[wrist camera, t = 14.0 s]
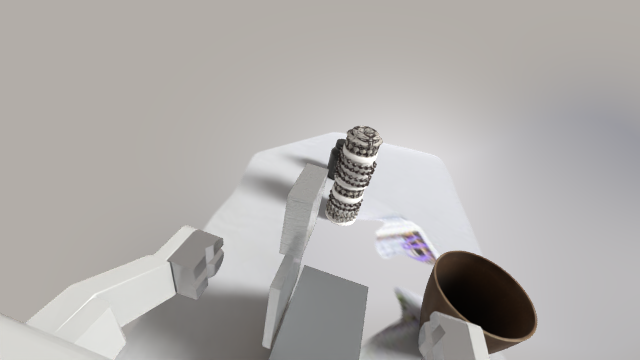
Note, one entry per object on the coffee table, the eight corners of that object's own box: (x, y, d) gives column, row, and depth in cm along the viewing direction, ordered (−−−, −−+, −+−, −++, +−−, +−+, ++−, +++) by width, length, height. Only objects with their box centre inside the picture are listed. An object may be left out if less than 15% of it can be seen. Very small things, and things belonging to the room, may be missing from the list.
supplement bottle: (350, 176, 90) (360, 144, 83) (337, 183, 85) (347, 150, 78) (334, 166, 93) (342, 135, 86) (321, 173, 88) (329, 140, 81)
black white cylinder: (320, 202, 76) (340, 119, 62) (351, 203, 78) (378, 123, 64) (327, 227, 69) (352, 139, 55) (361, 226, 71) (393, 142, 57)
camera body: (327, 433, 37) (354, 397, 29) (259, 404, 38) (265, 363, 30) (347, 321, 50) (369, 276, 42) (296, 302, 51) (307, 255, 43)
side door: (275, 351, 32) (299, 234, 21) (256, 343, 33) (269, 224, 21) (301, 281, 41) (328, 169, 29) (286, 276, 41) (307, 163, 29)
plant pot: (431, 399, 43) (485, 354, 33) (384, 308, 54) (416, 256, 44) (497, 371, 48) (560, 326, 39) (443, 294, 59) (482, 245, 50)
